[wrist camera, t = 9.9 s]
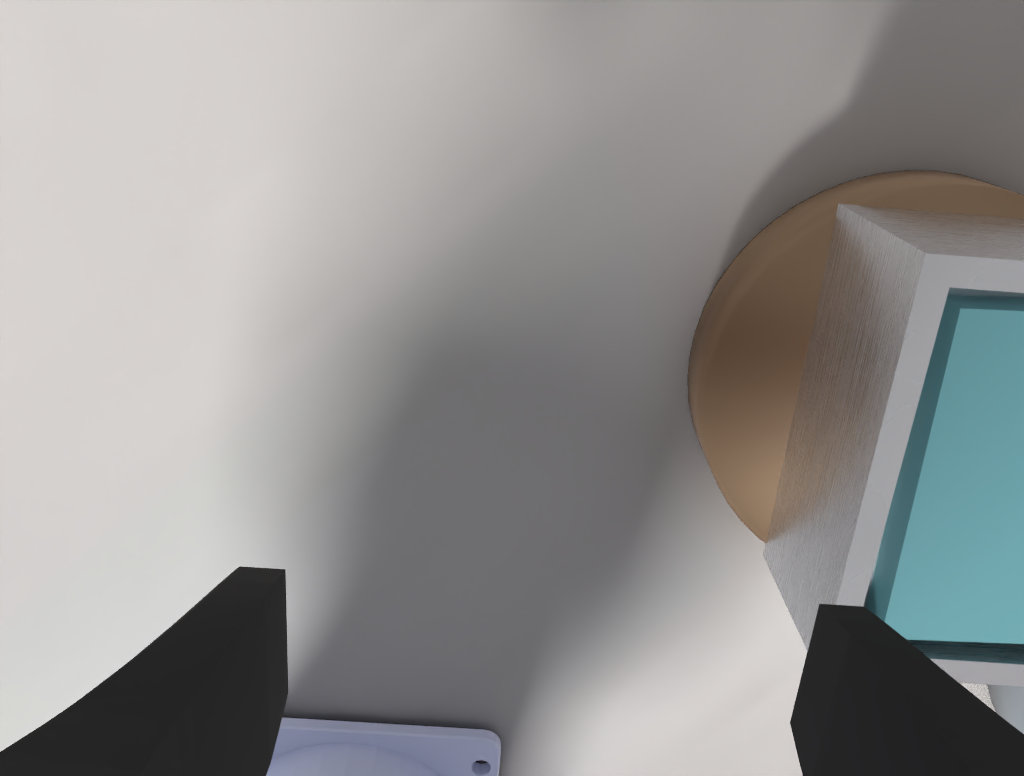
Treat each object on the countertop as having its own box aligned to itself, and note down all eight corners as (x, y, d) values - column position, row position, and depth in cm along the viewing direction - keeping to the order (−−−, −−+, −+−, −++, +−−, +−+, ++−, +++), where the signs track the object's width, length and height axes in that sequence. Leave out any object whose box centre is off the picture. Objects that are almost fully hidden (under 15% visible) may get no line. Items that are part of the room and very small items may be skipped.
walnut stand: (1020, 549, 23) (1060, 592, 21) (662, 526, 22) (674, 567, 21) (1142, 187, 19) (1202, 202, 17) (721, 154, 19) (742, 167, 17)
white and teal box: (979, 570, 21) (1080, 690, 17) (762, 555, 21) (817, 673, 17) (1091, 223, 18) (1244, 277, 14) (838, 203, 18) (925, 253, 14)
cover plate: (1038, 619, 18) (1061, 645, 17) (864, 612, 18) (880, 638, 17) (1140, 302, 15) (1172, 317, 14) (938, 294, 15) (960, 308, 14)
